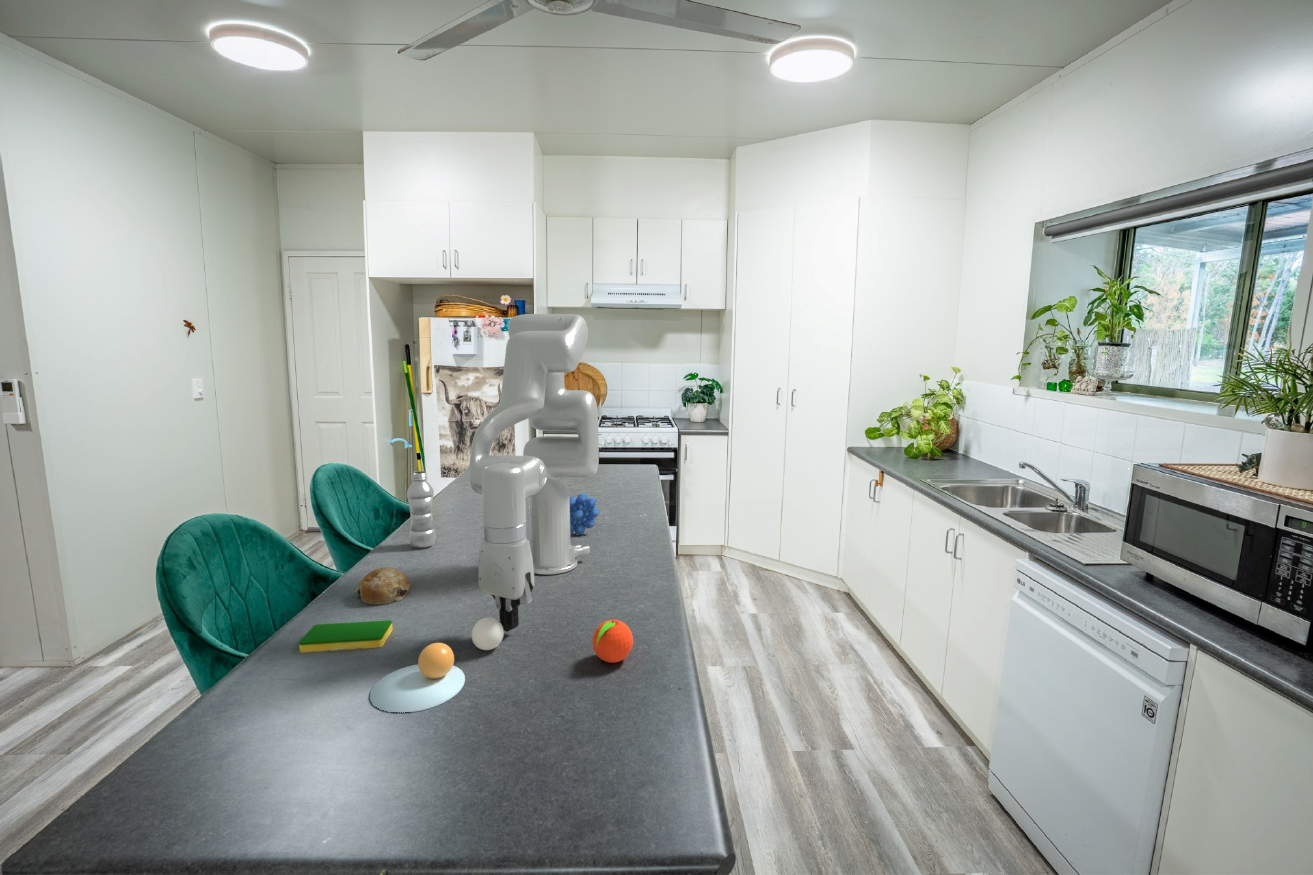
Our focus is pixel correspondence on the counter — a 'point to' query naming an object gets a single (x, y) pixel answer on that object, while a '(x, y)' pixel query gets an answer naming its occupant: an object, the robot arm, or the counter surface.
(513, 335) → the robot arm
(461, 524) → the counter surface
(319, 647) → the dish sponge
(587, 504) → the grapes
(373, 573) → the bread roll
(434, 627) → the counter surface
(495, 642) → the cue ball
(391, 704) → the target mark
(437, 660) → the orange ball
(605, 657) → the clementine
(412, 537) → the plastic bottle
